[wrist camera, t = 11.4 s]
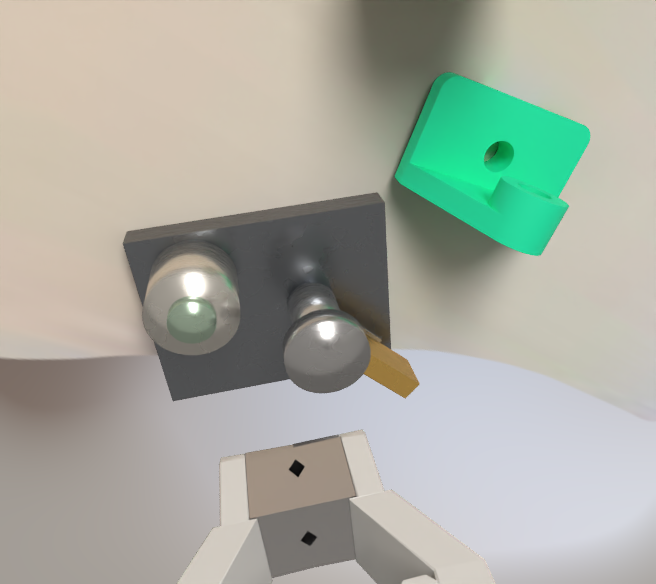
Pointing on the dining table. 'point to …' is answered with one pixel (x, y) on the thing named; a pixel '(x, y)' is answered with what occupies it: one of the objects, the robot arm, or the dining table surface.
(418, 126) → the camera mount
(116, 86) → the dining table surface
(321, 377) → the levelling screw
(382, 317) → the base
